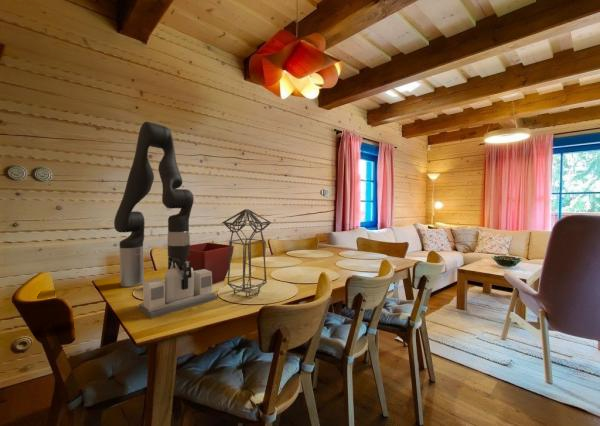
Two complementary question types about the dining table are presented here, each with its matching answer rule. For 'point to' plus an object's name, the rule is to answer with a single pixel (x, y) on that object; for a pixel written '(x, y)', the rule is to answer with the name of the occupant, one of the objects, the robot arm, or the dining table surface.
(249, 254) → the geometric lantern
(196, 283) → the mounted modules
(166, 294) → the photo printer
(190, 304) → the rail board
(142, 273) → the robot arm
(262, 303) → the dining table surface
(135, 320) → the dining table surface
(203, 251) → the plant pot
